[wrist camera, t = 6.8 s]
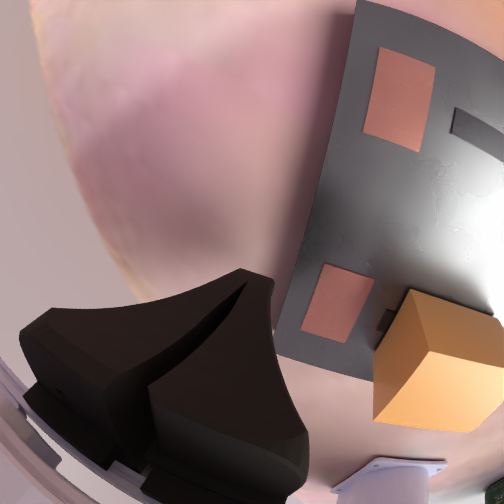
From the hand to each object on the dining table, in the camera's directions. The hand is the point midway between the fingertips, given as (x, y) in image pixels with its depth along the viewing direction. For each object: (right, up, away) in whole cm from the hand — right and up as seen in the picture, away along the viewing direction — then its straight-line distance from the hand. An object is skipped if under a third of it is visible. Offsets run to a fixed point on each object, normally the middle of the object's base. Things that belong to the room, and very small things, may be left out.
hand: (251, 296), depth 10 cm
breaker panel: (+13, +1, -2) cm, 13 cm away
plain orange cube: (+8, -2, -1) cm, 8 cm away
